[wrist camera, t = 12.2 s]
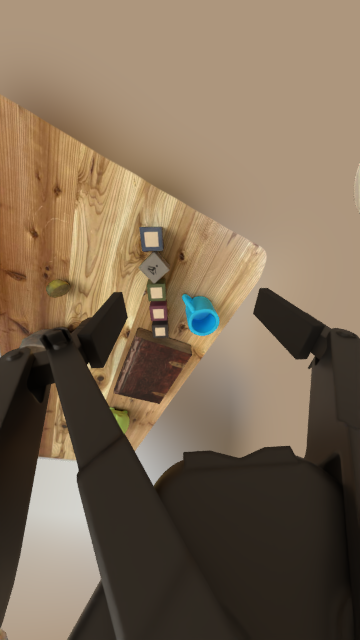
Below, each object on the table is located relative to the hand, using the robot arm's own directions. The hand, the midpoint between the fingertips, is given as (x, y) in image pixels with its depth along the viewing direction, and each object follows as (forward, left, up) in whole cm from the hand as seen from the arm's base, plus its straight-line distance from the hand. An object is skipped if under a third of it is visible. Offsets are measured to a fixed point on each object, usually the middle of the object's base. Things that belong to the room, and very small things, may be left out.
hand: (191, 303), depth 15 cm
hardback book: (+11, +38, -28) cm, 49 cm away
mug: (-5, +14, -28) cm, 32 cm away
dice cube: (+6, +2, -28) cm, 29 cm away
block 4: (+6, +20, -28) cm, 35 cm away
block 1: (+6, -4, -28) cm, 29 cm away
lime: (+31, +7, -28) cm, 42 cm away
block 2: (+6, +8, -28) cm, 30 cm away
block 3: (+6, +14, -28) cm, 32 cm away
